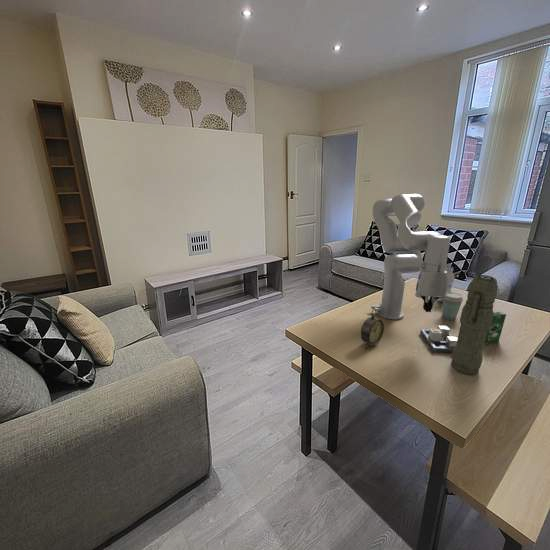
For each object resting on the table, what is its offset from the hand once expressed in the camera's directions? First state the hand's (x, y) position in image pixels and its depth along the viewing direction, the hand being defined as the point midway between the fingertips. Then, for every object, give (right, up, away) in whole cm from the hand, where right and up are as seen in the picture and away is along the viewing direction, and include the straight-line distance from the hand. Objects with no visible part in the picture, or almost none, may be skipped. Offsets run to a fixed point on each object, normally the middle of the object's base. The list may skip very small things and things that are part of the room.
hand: (427, 310), depth 117 cm
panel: (+7, -14, +4) cm, 17 cm away
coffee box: (+29, -14, +5) cm, 32 cm away
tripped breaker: (+5, -13, +4) cm, 14 cm away
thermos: (+8, -20, -11) cm, 24 cm away
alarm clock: (-22, -15, +4) cm, 27 cm away
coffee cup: (+25, -7, +27) cm, 37 cm away
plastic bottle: (+32, -1, +45) cm, 55 cm away
